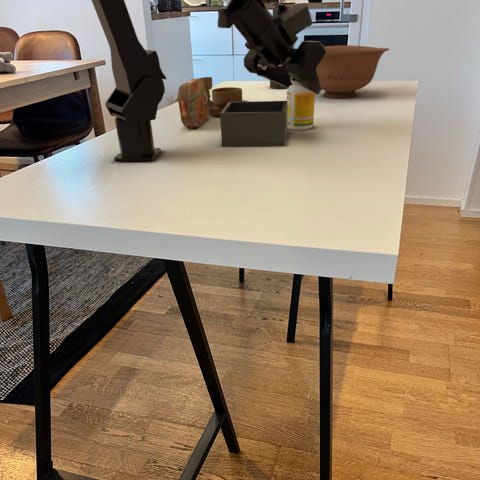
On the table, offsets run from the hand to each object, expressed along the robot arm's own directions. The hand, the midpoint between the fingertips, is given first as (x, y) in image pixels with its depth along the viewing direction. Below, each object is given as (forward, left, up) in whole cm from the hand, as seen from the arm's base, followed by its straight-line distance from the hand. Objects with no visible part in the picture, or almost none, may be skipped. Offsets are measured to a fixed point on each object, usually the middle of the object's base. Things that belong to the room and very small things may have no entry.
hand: (306, 90), depth 92 cm
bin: (-10, +9, -7) cm, 15 cm away
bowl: (+36, -9, -7) cm, 38 cm away
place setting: (+20, +18, -7) cm, 28 cm away
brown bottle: (+53, +7, -7) cm, 54 cm away
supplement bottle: (-1, +1, -7) cm, 7 cm away
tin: (+4, +23, -7) cm, 24 cm away
